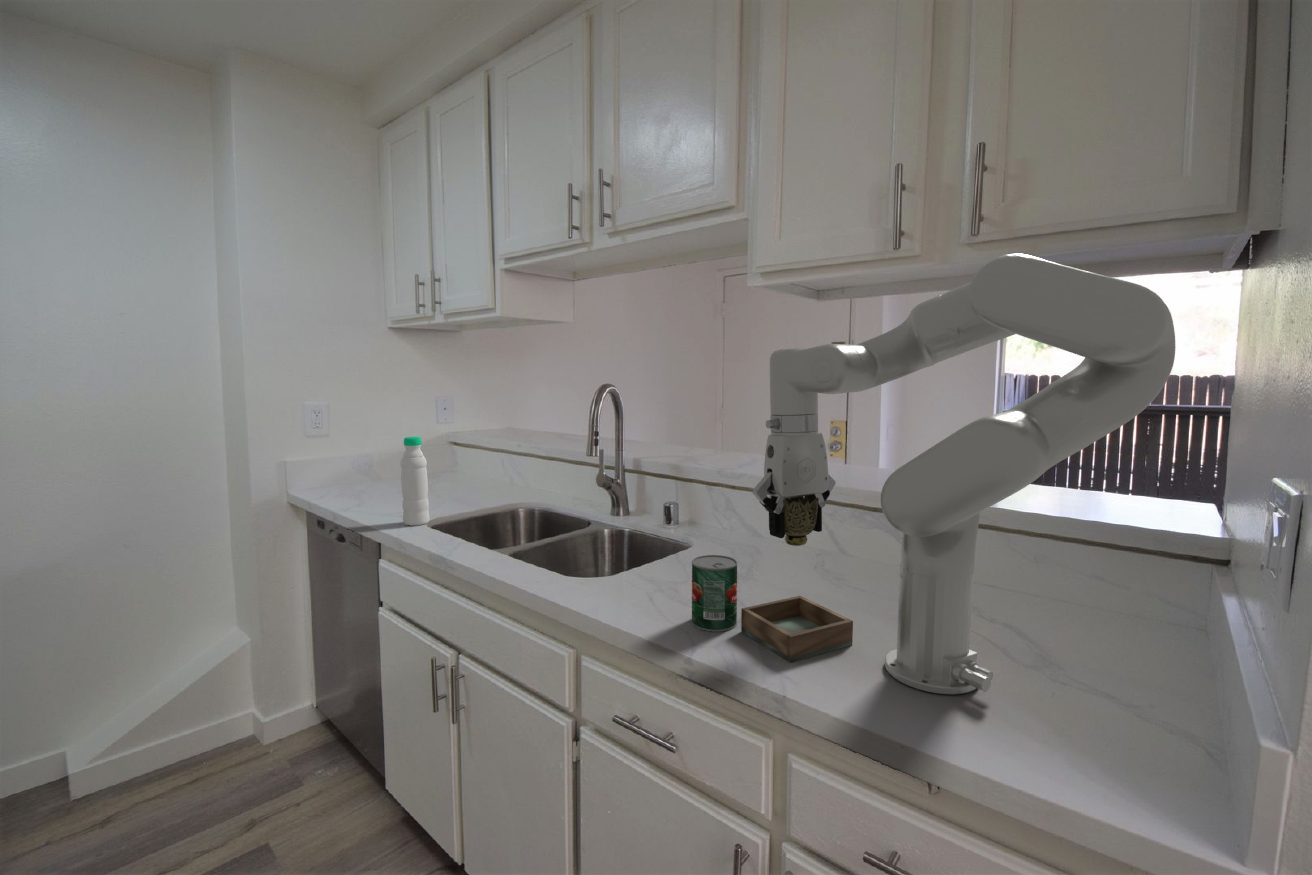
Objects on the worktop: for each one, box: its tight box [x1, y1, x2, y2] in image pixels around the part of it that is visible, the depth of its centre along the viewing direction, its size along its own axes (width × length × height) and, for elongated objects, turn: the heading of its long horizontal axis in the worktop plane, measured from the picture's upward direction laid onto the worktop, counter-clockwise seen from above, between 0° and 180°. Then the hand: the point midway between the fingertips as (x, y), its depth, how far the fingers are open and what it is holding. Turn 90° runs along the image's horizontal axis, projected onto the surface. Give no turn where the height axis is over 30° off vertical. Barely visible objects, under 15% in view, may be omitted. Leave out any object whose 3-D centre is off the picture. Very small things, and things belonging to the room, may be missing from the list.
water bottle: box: [400, 436, 430, 527], centre depth 178 cm, size 7×7×25 cm
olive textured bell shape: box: [775, 495, 819, 547], centre depth 102 cm, size 8×7×8 cm
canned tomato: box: [691, 554, 739, 633], centre depth 107 cm, size 8×8×11 cm
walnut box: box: [740, 595, 854, 663], centre depth 101 cm, size 13×13×4 cm
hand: (795, 532), depth 102 cm, fingers closed on olive textured bell shape, 6 cm apart
